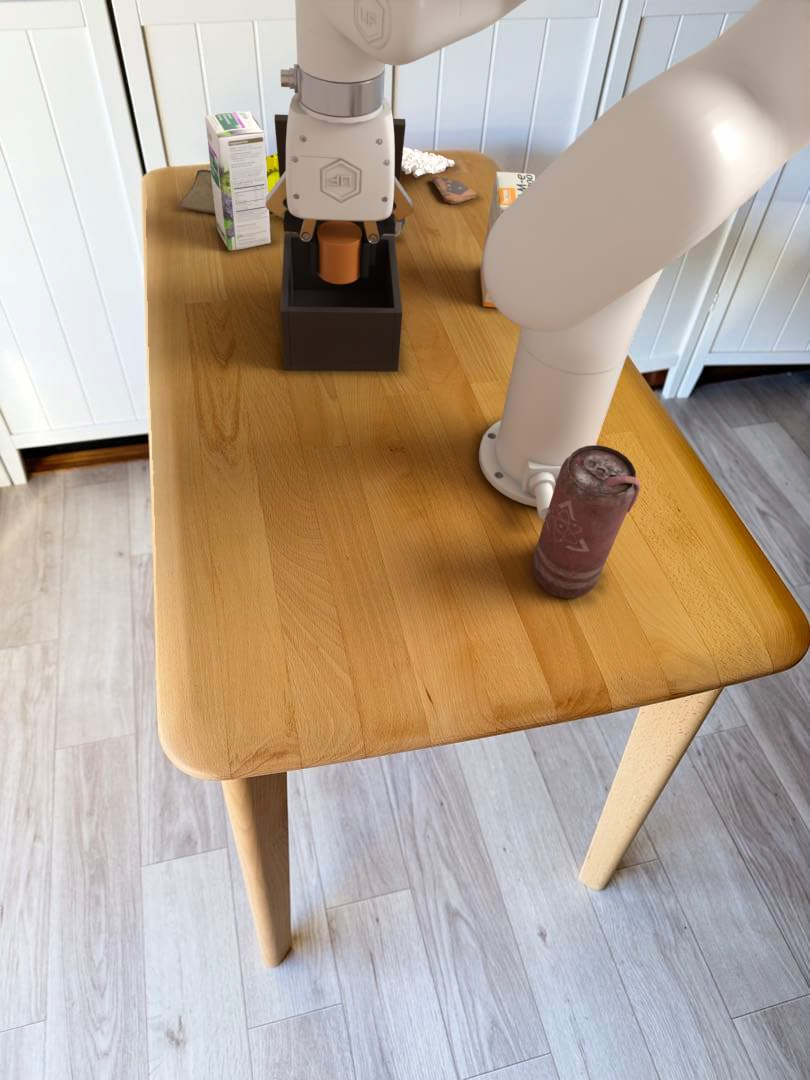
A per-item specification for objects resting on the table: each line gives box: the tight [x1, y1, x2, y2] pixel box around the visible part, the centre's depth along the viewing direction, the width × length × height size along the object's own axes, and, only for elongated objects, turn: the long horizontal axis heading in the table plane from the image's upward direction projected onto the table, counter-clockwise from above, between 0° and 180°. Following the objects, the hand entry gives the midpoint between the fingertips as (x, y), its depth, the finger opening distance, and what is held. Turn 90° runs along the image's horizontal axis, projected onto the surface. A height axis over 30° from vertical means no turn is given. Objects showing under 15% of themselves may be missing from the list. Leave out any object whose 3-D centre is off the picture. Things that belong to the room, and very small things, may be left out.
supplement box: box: [479, 171, 536, 308], centre depth 97 cm, size 8×5×13 cm, turn 179°
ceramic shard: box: [178, 169, 216, 215], centre depth 107 cm, size 10×5×2 cm
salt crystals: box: [401, 146, 456, 179], centre depth 114 cm, size 20×20×2 cm
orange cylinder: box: [317, 221, 362, 284], centre depth 84 cm, size 5×5×4 cm
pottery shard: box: [431, 176, 478, 205], centre depth 115 cm, size 7×1×5 cm
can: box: [531, 444, 642, 599], centre depth 69 cm, size 6×6×14 cm
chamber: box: [279, 232, 403, 372], centre depth 92 cm, size 15×13×8 cm
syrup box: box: [204, 110, 272, 252], centre depth 100 cm, size 6×6×14 cm
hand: (339, 268), depth 85 cm, fingers closed on orange cylinder, 4 cm apart
